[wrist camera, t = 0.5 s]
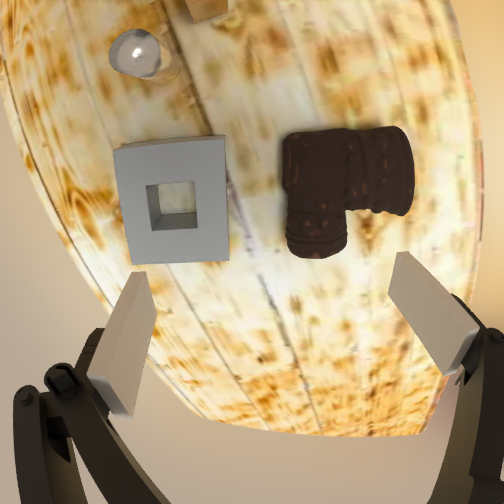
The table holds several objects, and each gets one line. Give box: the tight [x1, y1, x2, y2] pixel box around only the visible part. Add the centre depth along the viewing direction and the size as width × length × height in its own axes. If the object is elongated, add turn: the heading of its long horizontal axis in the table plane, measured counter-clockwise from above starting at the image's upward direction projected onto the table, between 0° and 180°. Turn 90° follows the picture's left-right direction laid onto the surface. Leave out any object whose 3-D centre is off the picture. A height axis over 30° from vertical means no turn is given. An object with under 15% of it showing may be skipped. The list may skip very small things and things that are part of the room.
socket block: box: [113, 135, 229, 265], centre depth 33 cm, size 14×12×5 cm
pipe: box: [282, 126, 415, 259], centre depth 33 cm, size 10×15×15 cm
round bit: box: [109, 29, 180, 84], centre depth 22 cm, size 4×4×12 cm
